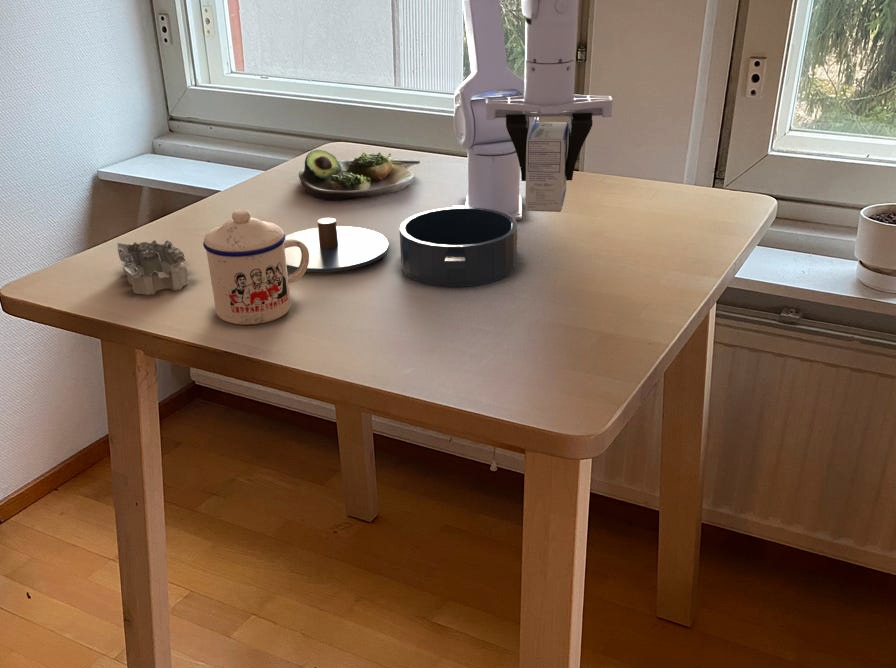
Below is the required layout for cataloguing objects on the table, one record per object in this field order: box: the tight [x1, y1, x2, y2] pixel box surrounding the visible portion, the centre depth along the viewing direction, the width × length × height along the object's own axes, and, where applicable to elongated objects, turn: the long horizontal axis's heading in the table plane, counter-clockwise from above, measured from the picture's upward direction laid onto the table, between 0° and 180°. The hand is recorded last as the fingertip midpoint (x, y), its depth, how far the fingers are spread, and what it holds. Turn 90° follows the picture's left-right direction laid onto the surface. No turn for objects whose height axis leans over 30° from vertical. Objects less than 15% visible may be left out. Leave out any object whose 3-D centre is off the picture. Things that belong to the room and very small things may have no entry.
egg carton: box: [116, 239, 189, 296], centre depth 125 cm, size 11×8×4 cm
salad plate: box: [298, 149, 421, 202], centre depth 155 cm, size 19×18×5 cm
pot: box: [399, 205, 518, 288], centre depth 125 cm, size 14×20×5 cm
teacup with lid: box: [202, 209, 309, 326], centre depth 114 cm, size 12×9×12 cm
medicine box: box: [525, 121, 569, 213], centre depth 121 cm, size 8×4×9 cm, turn 169°
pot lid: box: [285, 217, 390, 273], centre depth 130 cm, size 15×15×4 cm
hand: (546, 178), depth 122 cm, fingers closed on medicine box, 5 cm apart
